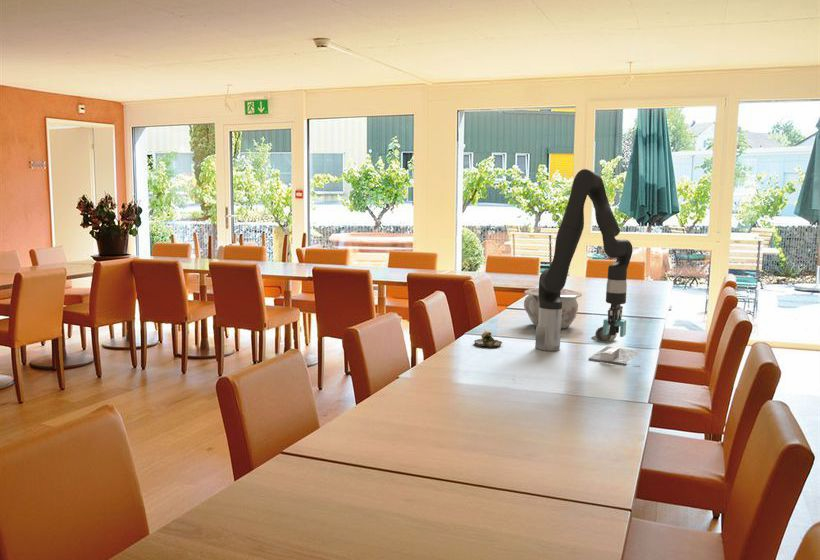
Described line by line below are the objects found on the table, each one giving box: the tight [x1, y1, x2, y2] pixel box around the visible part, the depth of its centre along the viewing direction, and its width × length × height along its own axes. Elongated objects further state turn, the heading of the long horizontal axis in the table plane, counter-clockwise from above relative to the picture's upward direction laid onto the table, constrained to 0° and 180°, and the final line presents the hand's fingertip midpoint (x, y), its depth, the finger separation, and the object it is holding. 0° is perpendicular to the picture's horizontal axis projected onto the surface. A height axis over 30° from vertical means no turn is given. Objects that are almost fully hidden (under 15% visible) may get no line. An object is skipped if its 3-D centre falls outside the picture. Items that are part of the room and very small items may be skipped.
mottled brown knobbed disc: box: [473, 330, 503, 348], centre depth 293 cm, size 12×12×8 cm
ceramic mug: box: [591, 325, 618, 343], centre depth 307 cm, size 10×8×7 cm
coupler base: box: [588, 346, 642, 367], centre depth 278 cm, size 26×14×4 cm, turn 149°
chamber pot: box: [523, 287, 583, 330], centre depth 337 cm, size 28×28×21 cm
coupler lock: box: [602, 317, 627, 338], centre depth 272 cm, size 5×8×6 cm, turn 60°
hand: (614, 333), depth 272 cm, fingers closed on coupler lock, 5 cm apart
